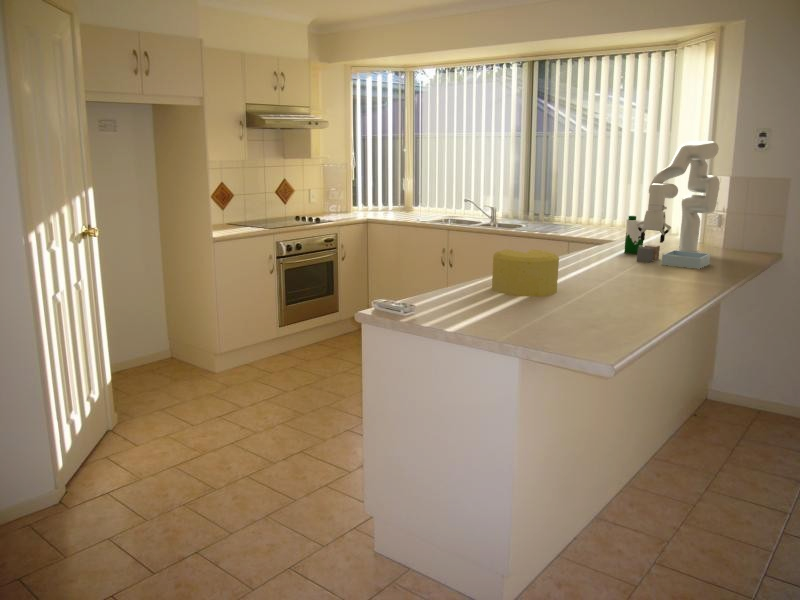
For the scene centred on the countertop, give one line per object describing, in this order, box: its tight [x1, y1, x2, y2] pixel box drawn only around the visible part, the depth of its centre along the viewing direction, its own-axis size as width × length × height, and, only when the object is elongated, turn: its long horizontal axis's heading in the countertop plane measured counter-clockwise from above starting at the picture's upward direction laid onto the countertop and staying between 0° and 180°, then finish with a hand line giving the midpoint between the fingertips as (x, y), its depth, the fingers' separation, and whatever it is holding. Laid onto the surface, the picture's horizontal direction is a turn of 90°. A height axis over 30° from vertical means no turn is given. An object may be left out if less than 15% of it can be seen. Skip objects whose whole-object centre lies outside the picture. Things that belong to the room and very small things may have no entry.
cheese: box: [491, 248, 560, 297], centre depth 277 cm, size 26×26×15 cm
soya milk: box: [623, 215, 644, 255], centre depth 374 cm, size 9×9×20 cm
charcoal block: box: [636, 246, 654, 264], centre depth 349 cm, size 6×6×7 cm
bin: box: [661, 249, 711, 270], centre depth 341 cm, size 18×18×5 cm
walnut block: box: [644, 244, 661, 261], centre depth 357 cm, size 6×6×7 cm
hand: (652, 241), depth 355 cm, fingers open, 9 cm apart
